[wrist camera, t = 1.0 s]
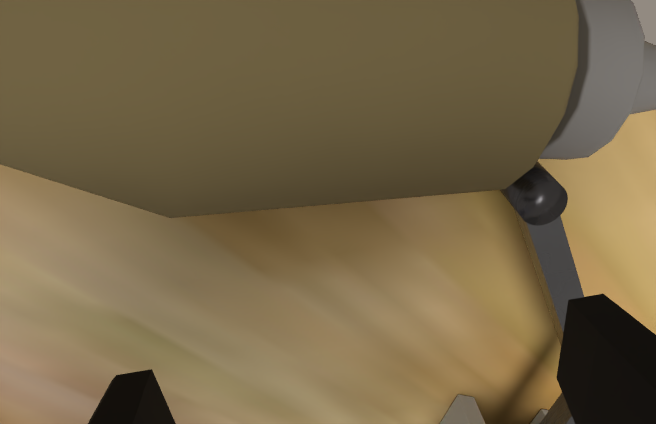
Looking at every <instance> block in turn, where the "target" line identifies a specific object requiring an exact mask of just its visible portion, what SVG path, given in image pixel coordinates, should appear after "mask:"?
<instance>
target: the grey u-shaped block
mask: <svg viewBox="0 0 656 424" xmlns="http://www.w3.org/2000/svg"><path fill="white" fill-rule="evenodd" d="M548 411H549V410H545V409H541V410H540V411H539V413H538V414H537V415H536V417H535V418H534V419H533V421H532V422H531V424H539V423H540V422H541V421H542V419H543V418H544V417H545V415H546V414H547V413H548ZM440 424H485V422H484V420H483V417H482V415H481V413H480V410H479V408H478V406H477V403H476V401H475V399H474V397H470V396H464V395H459V394H458V395H457V397H456V398H455V400H454V402H453V403H452V405H451V406H450V408H449V410H448V411H447V413H446V414H445V416H444V418H443V419H442V421H441V422H440Z"/></svg>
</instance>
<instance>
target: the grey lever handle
mask: <svg viewBox="0 0 656 424" xmlns="http://www.w3.org/2000/svg"><path fill="white" fill-rule="evenodd" d="M500 191H501V192H502V193H503V195H504V196H505V197H506V199H507V200H508V201H509V202H510V204H511V205H512V206H513V207H514V210H515V213H516V215H517V218H518V221H519V224H520V227H521V230H522V233H523V236H524V239H525V242H526V245H527V248H528V250H529V253H530V256H531V259H532V262H533V265H534V268H535V271H536V274H537V277H538V280H539V283H540V285H541V288H542V291H543V294H544V297H545V300H546V303H547V306H548V309H549V312H550V315H551V318H552V320H553V323H554V326H555V329H556V332H557V335H558V338H559V341H560V344H561V345H562V339H563V332H564V325H565V319H566V312H567V305H568V300H570V299H576V298H582V297H584V295H583V291H582V288H581V285H580V281H579V278H578V274H577V271H576V268H575V264H574V261H573V257H572V254H571V251H570V247H569V244H568V240H567V237H566V234H565V230H564V227H563V223H562V220H561V217H560V215H561V214H562V212H563V211H564V209H565V207H566V205H567V200H568V197H567V193H566V191H565V189H564V188H563V187H562V186H561V185H560V184H559V183H558V182H557V181H556V180H555V179H554V178H553V177H552V176H551V175H550V174H549V173H548V172H547V171H546V170H545V169H544V168H543V167H542V166H541V165H540V163H539V162H538V161H537V162H536V164H535V165H534V167H533V168H531V169H530V170H529V171H528V172H526V173H525V174H524V175H522V176H521V177H520V178H519V179H517V180H516V181H515V182H514V183H512V184H511V185H510V186H508V187H507V188H506V189H501V190H500ZM539 424H575V422H574V420H573V417H572V415H571V413H570V410H569V408H568V405H567V403H566V400H565V398H564V395H563V393H561V395H560V396H559V397H558V399H557V400H556V402H555V403H554V404H553V406H552V407H551V408H550V410H549V411H548V413H547V414H546V415H545V417H544V418H543V419H542V421H541V422H540V423H539Z"/></svg>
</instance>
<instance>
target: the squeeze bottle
mask: <svg viewBox="0 0 656 424" xmlns="http://www.w3.org/2000/svg"><path fill="white" fill-rule="evenodd" d="M650 110H656V45H653V44H651V43H648V42H646V41H644V33H643V30H642V27H641V24H640V21H639V18H638V15H637V12H636V9H635V6H634V3H633V2H632V1H631V0H0V164H1V165H4V166H8V167H11V168H14V169H17V170H20V171H23V172H27V173H30V174H33V175H36V176H39V177H42V178H46V179H49V180H52V181H55V182H58V183H61V184H65V185H68V186H71V187H74V188H77V189H80V190H84V191H87V192H90V193H93V194H96V195H99V196H103V197H106V198H109V199H112V200H115V201H118V202H122V203H125V204H128V205H131V206H134V207H137V208H141V209H144V210H147V211H150V212H153V213H156V214H160V215H163V216H166V217H169V218H174V217H186V216H198V215H209V214H221V213H233V212H244V211H256V210H268V209H280V208H291V207H303V206H315V205H326V204H338V203H350V202H361V201H373V200H385V199H396V198H408V197H420V196H431V195H443V194H455V193H466V192H478V191H490V190H501V189H506V188H507V187H508V186H510V185H511V184H512V183H514V182H515V181H516V180H517V179H519V178H520V177H521V176H522V175H524V174H525V173H526V172H528V171H529V170H530V169H531V168H533V167H534V165H535V164H536V162H537V160H538V159H539V158H541V159H575V158H585V157H589V156H590V155H592V154H593V153H595V152H596V151H597V150H599V149H600V148H602V147H603V146H605V145H606V144H607V143H609V142H610V141H611V140H612V139H613V138H614V136H615V135H616V133H617V132H618V130H619V129H620V127H621V126H622V124H623V123H624V121H625V120H626V119H627V117H628V116H629V114H634V113H640V112H645V111H650Z"/></svg>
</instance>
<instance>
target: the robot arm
mask: <svg viewBox="0 0 656 424" xmlns="http://www.w3.org/2000/svg"><path fill="white" fill-rule="evenodd" d="M557 380H558V382H559V385H560V388H561V390H562V393H563V395H564V398H565V400H566V403H567V405H568V408H569V410H570V413H571V415H572V417H573V420H574V422H575V424H656V335H655V334H654V333H653V332H651V331H650V330H649V329H647V328H646V327H645V326H644V325H642V324H641V323H640V322H639V321H637V320H636V319H635V318H634V317H632V316H631V315H630V314H628V313H627V312H626V311H625V310H623V309H622V308H621V307H619V306H618V305H617V304H616V303H614V302H613V301H612V300H610V299H609V298H608V297H607V296H605V295H604V294H600V295H594V296H588V297H582V298H576V299H570V300H568V305H567V312H566V319H565V325H564V332H563V339H562V345H561V352H560V359H559V366H558V372H557ZM88 424H176V423H175V421H174V419H173V417H172V414H171V412H170V410H169V407H168V405H167V403H166V401H165V398H164V396H163V394H162V392H161V389H160V387H159V385H158V382H157V380H156V378H155V376H154V373H153V371H152V369H151V370H145V371H139V372H133V373H127V374H121V375H116V376H115V378H114V379H113V380H112V381H111V383H110V385H109V387H108V389H107V390H106V392H105V394H104V396H103V398H102V399H101V401H100V403H99V405H98V407H97V408H96V410H95V412H94V414H93V416H92V417H91V419H90V421H89V423H88Z"/></svg>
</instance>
